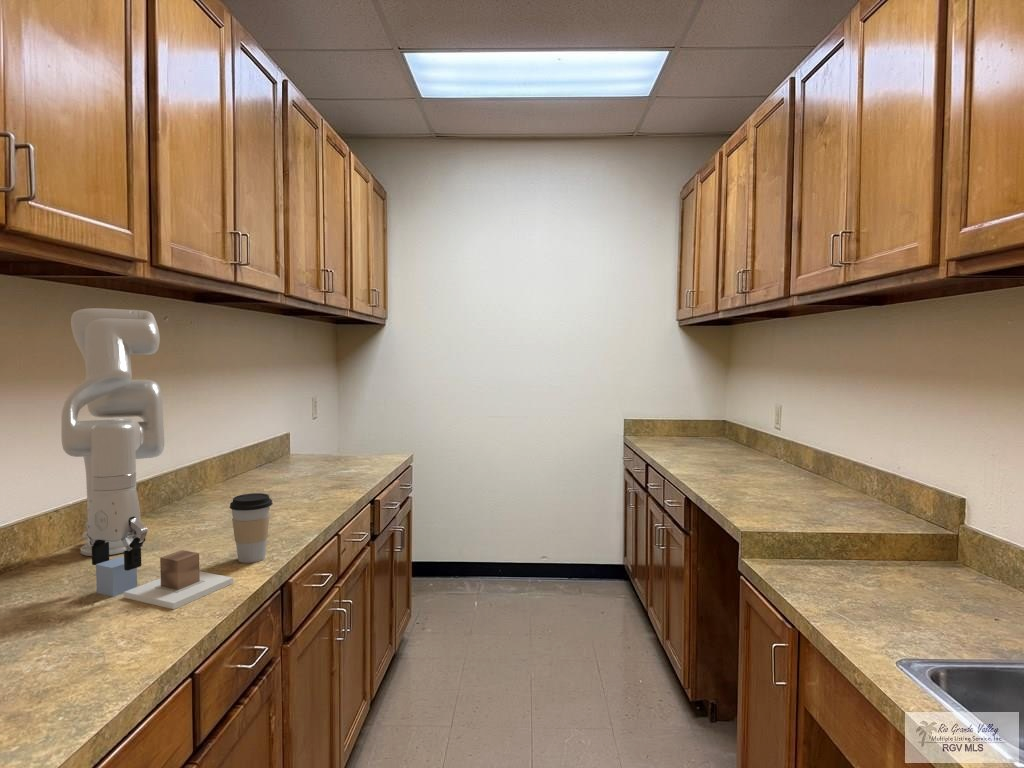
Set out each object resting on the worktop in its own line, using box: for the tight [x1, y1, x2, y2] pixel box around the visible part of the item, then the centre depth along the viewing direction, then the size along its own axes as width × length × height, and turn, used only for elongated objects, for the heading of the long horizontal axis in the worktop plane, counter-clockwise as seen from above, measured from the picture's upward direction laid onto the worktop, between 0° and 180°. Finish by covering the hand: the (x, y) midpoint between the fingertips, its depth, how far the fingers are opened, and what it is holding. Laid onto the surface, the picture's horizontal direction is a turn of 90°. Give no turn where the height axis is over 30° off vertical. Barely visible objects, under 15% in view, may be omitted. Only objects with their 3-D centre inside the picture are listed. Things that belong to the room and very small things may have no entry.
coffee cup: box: [229, 492, 273, 564], centre depth 140 cm, size 9×9×15 cm
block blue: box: [95, 556, 138, 598], centre depth 121 cm, size 5×5×6 cm
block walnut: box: [159, 549, 201, 590], centre depth 121 cm, size 5×5×6 cm
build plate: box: [123, 570, 234, 610], centre depth 121 cm, size 14×14×1 cm
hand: (116, 565), depth 120 cm, fingers open, 9 cm apart
